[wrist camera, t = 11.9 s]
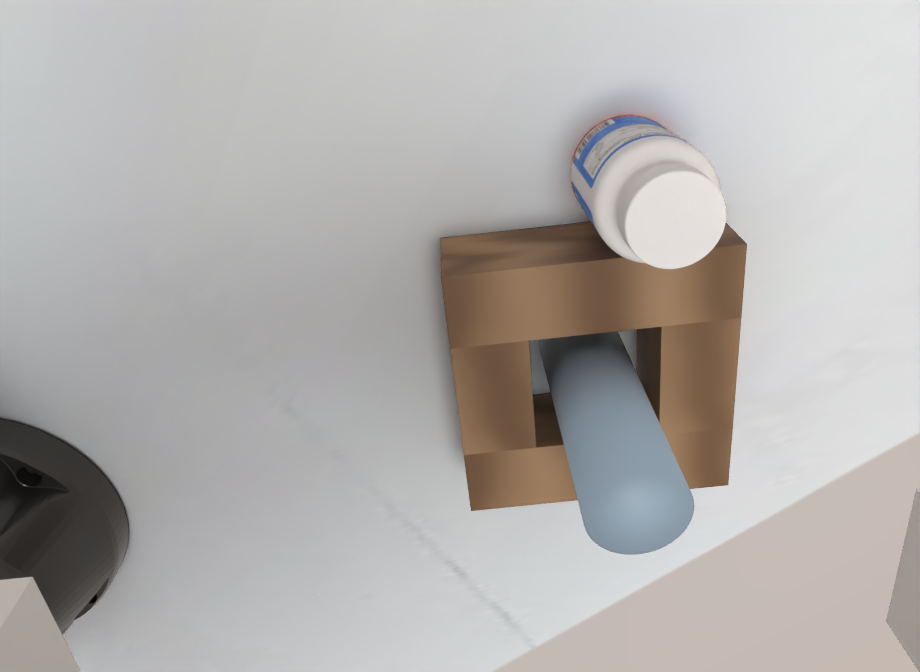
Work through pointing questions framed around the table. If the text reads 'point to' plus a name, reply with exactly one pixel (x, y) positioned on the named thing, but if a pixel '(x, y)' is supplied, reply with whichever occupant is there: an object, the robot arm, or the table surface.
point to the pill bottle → (648, 192)
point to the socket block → (580, 313)
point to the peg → (615, 446)
